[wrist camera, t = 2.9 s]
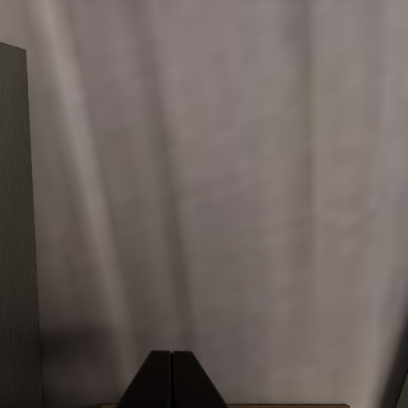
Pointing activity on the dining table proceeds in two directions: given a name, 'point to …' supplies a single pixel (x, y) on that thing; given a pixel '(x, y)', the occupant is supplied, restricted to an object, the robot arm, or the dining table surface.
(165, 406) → the robot arm
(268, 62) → the dining table surface
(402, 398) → the mat
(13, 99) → the bar
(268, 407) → the cradle
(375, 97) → the dining table surface
